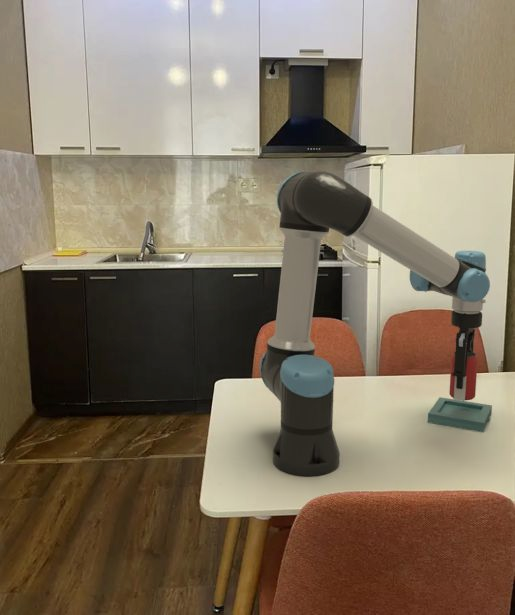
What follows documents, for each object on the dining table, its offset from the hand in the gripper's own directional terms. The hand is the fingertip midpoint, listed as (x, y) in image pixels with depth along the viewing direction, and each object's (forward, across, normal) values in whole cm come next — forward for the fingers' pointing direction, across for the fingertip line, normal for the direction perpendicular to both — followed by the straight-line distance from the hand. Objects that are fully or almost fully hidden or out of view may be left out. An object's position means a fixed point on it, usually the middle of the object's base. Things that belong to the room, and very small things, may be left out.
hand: (461, 395), depth 162 cm
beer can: (+1, 0, 0) cm, 1 cm away
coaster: (+6, 0, 0) cm, 6 cm away
